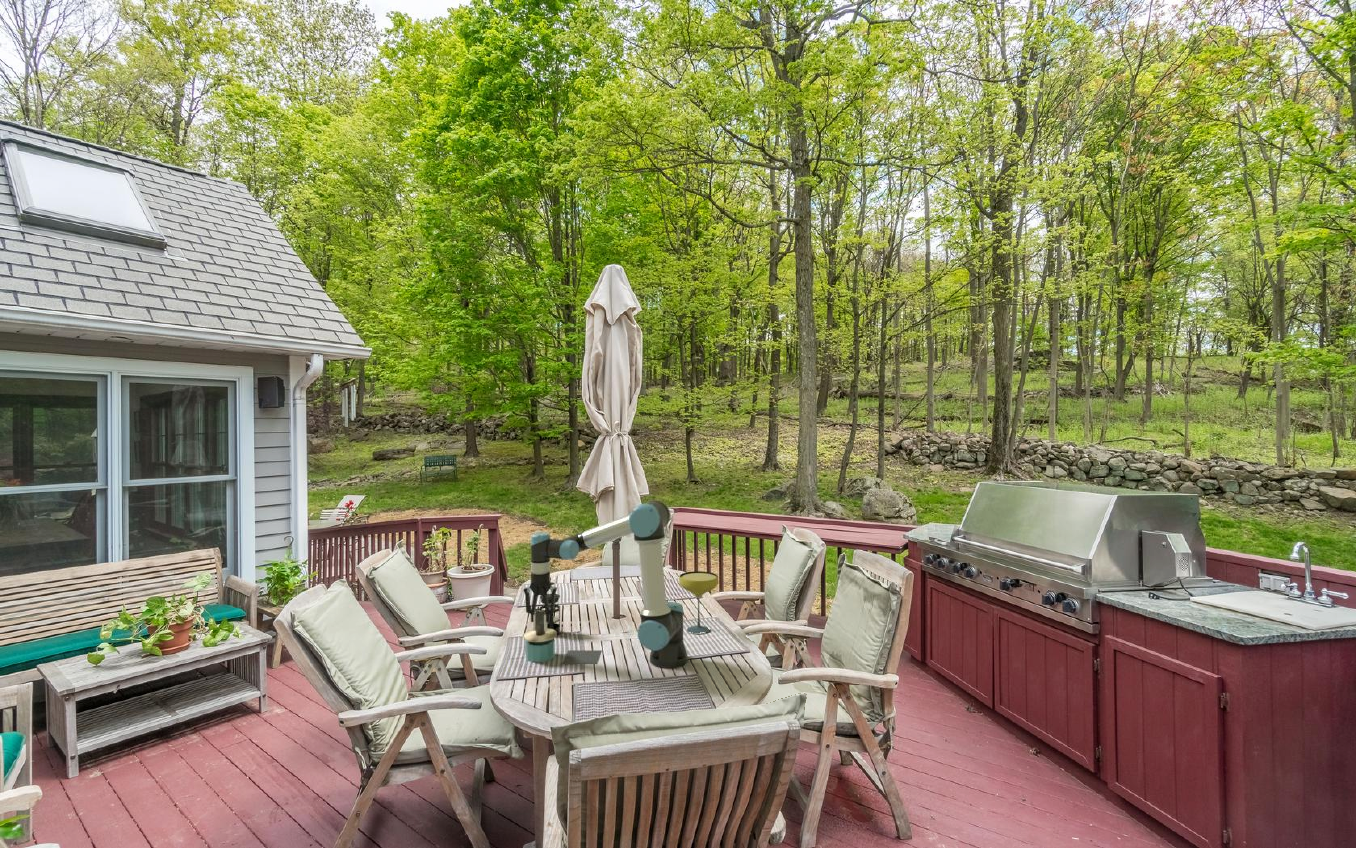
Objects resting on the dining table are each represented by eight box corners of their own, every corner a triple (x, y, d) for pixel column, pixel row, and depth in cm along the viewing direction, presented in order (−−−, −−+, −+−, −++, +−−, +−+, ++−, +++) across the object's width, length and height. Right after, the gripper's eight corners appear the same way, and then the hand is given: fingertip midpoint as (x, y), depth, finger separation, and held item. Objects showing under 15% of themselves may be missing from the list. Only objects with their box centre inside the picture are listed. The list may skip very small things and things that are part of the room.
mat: (601, 652, 243) (601, 650, 243) (597, 665, 229) (597, 664, 229) (568, 651, 243) (568, 650, 243) (561, 665, 229) (561, 664, 229)
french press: (560, 629, 270) (560, 579, 270) (563, 635, 261) (563, 584, 262) (534, 632, 266) (534, 581, 266) (536, 639, 257) (536, 587, 257)
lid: (559, 630, 242) (559, 606, 242) (552, 642, 229) (552, 616, 229) (528, 630, 242) (528, 606, 243) (519, 642, 229) (519, 616, 230)
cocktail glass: (674, 635, 262) (674, 579, 262) (684, 622, 279) (684, 570, 280) (713, 639, 257) (713, 582, 257) (721, 625, 275) (721, 572, 275)
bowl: (556, 653, 241) (556, 636, 241) (550, 664, 230) (550, 646, 230) (530, 653, 241) (530, 636, 241) (523, 664, 230) (523, 646, 230)
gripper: (562, 569, 240) (562, 626, 240) (522, 569, 240) (522, 626, 240) (558, 574, 232) (558, 633, 232) (517, 574, 232) (517, 633, 232)
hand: (540, 629), depth 236 cm, fingers closed on lid, 3 cm apart
